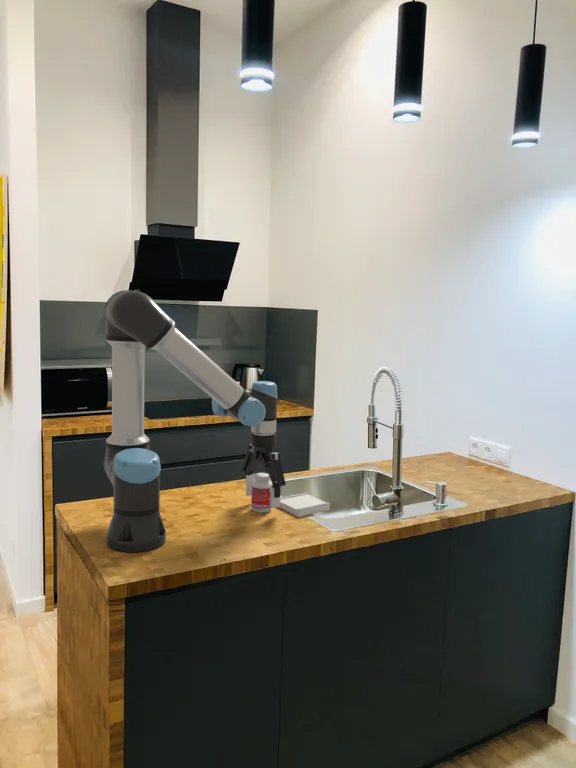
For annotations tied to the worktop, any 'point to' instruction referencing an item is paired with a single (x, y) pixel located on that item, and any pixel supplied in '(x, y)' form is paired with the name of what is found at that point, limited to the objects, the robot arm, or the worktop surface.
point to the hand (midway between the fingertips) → (262, 501)
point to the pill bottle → (261, 493)
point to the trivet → (303, 504)
